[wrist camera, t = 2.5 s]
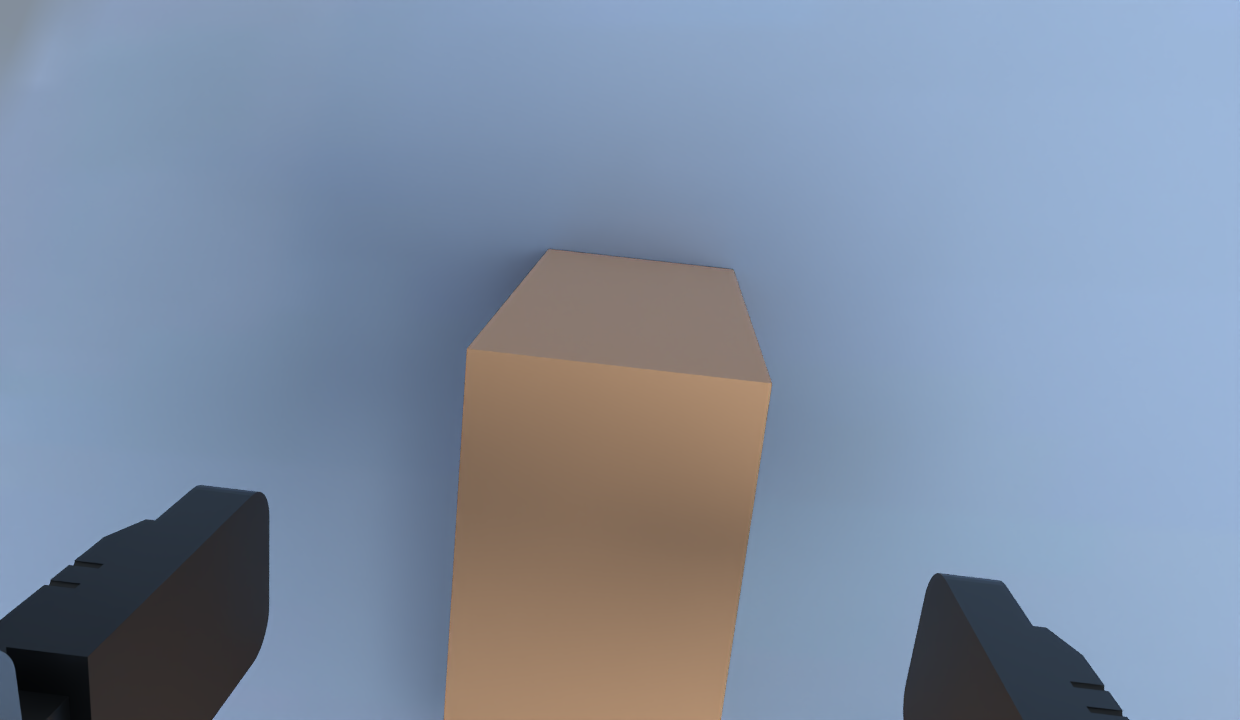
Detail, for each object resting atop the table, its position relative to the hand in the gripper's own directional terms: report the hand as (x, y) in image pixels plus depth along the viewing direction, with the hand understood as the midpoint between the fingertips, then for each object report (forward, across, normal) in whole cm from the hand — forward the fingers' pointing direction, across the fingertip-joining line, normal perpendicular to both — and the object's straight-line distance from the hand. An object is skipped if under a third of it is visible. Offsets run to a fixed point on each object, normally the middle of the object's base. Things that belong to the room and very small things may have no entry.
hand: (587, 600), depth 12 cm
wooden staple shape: (+10, 0, +4) cm, 11 cm away
